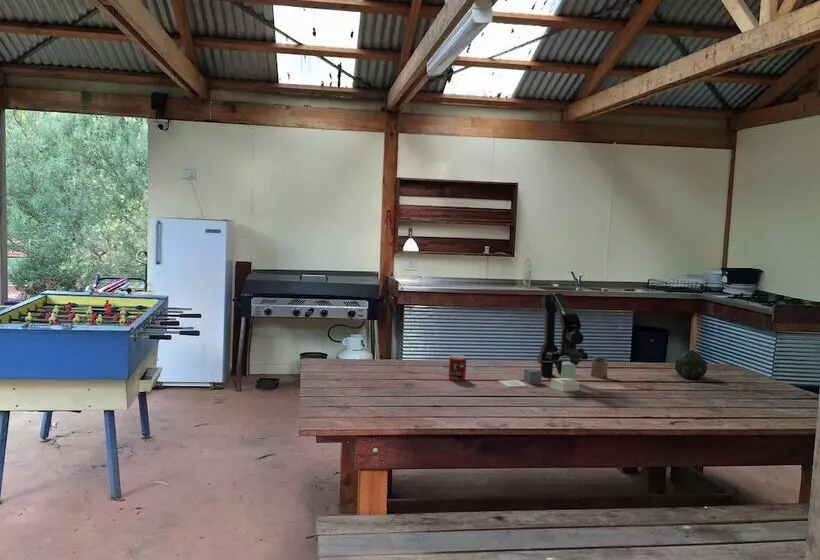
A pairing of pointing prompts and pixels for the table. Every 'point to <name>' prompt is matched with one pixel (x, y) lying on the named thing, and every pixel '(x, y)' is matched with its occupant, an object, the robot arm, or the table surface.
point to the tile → (513, 383)
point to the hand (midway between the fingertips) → (565, 374)
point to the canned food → (457, 368)
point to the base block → (565, 384)
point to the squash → (691, 365)
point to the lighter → (599, 367)
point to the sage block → (567, 370)
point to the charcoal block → (532, 376)
